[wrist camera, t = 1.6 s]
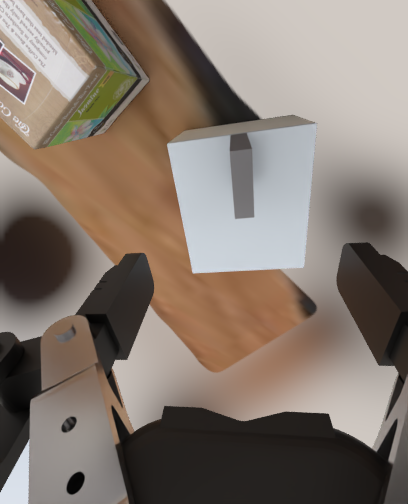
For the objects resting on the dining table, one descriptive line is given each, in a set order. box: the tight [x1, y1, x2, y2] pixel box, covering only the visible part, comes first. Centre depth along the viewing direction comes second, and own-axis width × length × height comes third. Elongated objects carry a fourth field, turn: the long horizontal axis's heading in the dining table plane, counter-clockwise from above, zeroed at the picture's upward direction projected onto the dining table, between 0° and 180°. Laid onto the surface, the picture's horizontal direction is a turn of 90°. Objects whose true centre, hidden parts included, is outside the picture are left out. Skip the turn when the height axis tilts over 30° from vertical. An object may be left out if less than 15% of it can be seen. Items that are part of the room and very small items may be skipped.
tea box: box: [0, 0, 149, 149], centre depth 24 cm, size 15×10×15 cm
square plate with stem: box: [167, 123, 317, 273], centre depth 24 cm, size 16×14×9 cm
